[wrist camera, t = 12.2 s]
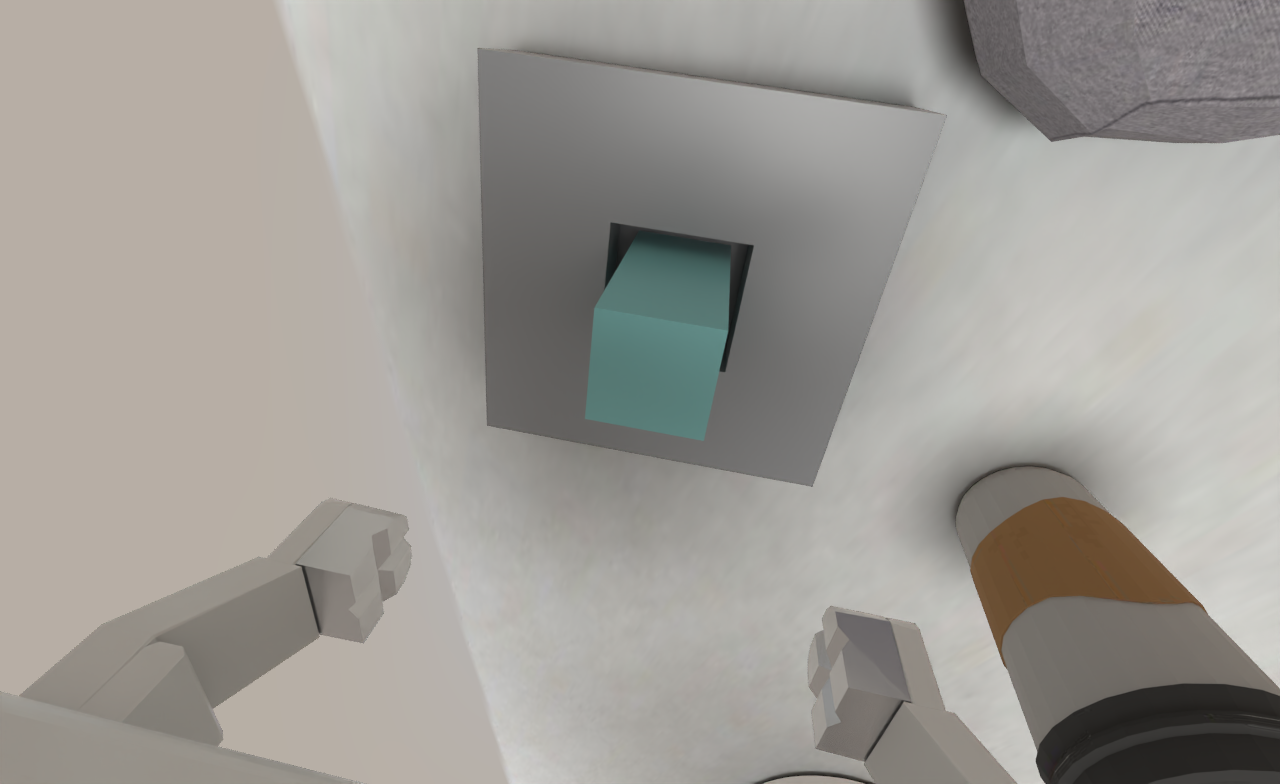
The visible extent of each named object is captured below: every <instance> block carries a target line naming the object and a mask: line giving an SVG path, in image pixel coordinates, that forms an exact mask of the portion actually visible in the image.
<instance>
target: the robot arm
mask: <svg viewBox="0 0 1280 784" xmlns="http://www.w3.org/2000/svg"><path fill="white" fill-rule="evenodd" d="M408 530H409V527H408V521H407V517H406V516H404V515H401V514H396V513H393V512H389V511H385V510H380V509H376V508H372V507H368V506H364V505H360V504H356V503H350V502H346V501H342V500H337V499H333V498H329V499H327V500H325V501H323V502H321V503H320V504H319V505H318V506H317V507H316V508H315V509H314V510H313V511H312V512H311V513H310V514H309V515H308V516H307V517H306V519H304V520H303V521H302V522H301V524H300V525H299V526H298V527H297V528H296V529H295V530H294V531H293V532H292V533H291V534H290V535H289V536H288V537H287V538H286V539H285V540H284V541H283V542H282V543H281V544H280V545H279V546H278V547H277V548H276V549H275V550H274V551H273V552H272V553H271V554H270V555H269V556H268V557H267V558H261V557H257V558H255V559H253V560H250V561H248V562H246V563H243V564H241V565H239V566H236V567H234V568H232V569H230V570H227V571H225V572H222V573H220V574H218V575H216V576H213V577H211V578H209V579H206V580H204V581H202V582H199V583H197V584H195V585H192V586H190V587H188V588H185V589H183V590H181V591H179V592H176V593H174V594H171V595H169V596H167V597H164V598H162V599H160V600H158V601H155V602H153V603H150V604H148V605H146V606H143V607H141V608H139V609H137V610H134V611H132V612H130V613H127V614H125V615H123V616H120V617H118V618H116V619H113V620H111V621H109V622H106V623H104V624H102V625H101V626H99V627H98V628H97V629H96V630H95V631H94V632H93V633H91V634H90V635H89V636H88V637H87V638H86V639H84V640H83V641H82V642H81V643H80V644H79V645H77V646H76V647H75V648H74V649H73V650H72V651H70V652H69V653H68V654H67V655H66V656H65V657H63V658H62V659H61V660H60V661H59V662H58V663H57V664H55V665H54V666H53V667H52V668H51V669H50V670H48V671H47V672H46V673H45V674H44V675H43V676H42V677H40V678H39V679H38V680H37V681H36V682H34V683H33V684H32V685H31V686H30V687H29V688H27V689H26V690H25V691H24V692H23V693H22V694H21V695H19V696H16V695H12V694H8V693H4V692H0V784H365V783H361V782H357V781H353V780H349V779H345V778H341V777H337V776H333V775H329V774H325V773H321V772H317V771H313V770H309V769H306V768H302V767H298V766H294V765H290V764H285V763H282V762H278V761H274V760H270V759H266V758H262V757H258V756H254V755H250V754H246V753H242V752H238V751H234V750H230V749H226V748H222V747H218V745H219V744H220V743H221V741H222V740H223V730H222V728H221V726H220V724H219V722H218V720H217V718H216V716H215V714H214V711H213V708H215V707H216V706H218V705H219V704H221V703H222V702H224V701H225V700H227V699H228V698H229V697H231V696H233V695H234V694H236V693H237V692H238V691H240V690H241V689H243V688H244V687H246V686H247V685H249V684H250V683H252V682H253V681H255V680H256V679H258V678H259V677H261V676H262V675H264V674H265V673H267V672H268V671H270V670H271V669H273V668H274V667H276V666H277V665H279V664H280V663H282V662H283V661H285V660H286V659H288V658H289V657H291V656H292V655H294V654H295V653H297V652H298V651H300V650H301V649H303V648H304V647H306V646H307V645H309V644H310V643H312V642H313V641H314V640H316V639H317V638H319V637H320V636H319V634H320V635H325V636H330V637H335V638H340V639H345V640H350V641H355V642H360V643H364V642H365V641H366V639H367V638H368V636H369V635H370V633H371V632H372V630H373V629H374V627H375V626H376V624H377V623H378V621H379V620H380V618H381V617H382V615H383V614H384V611H383V601H385V600H387V599H388V598H390V597H392V596H394V595H396V594H397V593H398V591H399V589H400V588H401V586H402V584H403V583H404V582H405V579H406V576H407V574H408V571H409V568H410V565H411V557H412V553H411V546H410V544H409V543H408V542H407V541H406V540H405V539H404V535H405V534H406V533H407V531H408ZM822 623H823V630H822V631H820V632H818V633H816V634H815V635H814V638H813V640H812V643H811V646H810V650H809V656H808V683H809V688H810V689H811V691H812V692H813V693H814V695H815V696H816V698H817V700H816V702H815V704H814V706H813V708H812V711H811V713H812V721H813V730H814V739H815V748H816V749H819V750H823V751H826V752H830V753H834V754H838V755H842V756H845V757H849V758H853V759H857V760H861V761H864V762H865V763H864V765H865V766H866V768H867V770H868V772H869V773H870V775H871V777H872V778H873V780H874V782H875V783H876V784H1017V783H1016V782H1015V781H1014V779H1013V778H1012V777H1011V776H1010V775H1009V774H1008V773H1007V772H1006V770H1005V769H1004V768H1003V767H1002V766H1001V765H1000V764H999V763H998V761H997V760H996V759H995V758H994V757H993V756H992V755H991V754H990V752H989V751H988V750H987V749H986V748H985V747H984V746H983V745H982V743H981V742H980V741H979V740H978V739H977V738H976V737H975V736H974V734H973V733H972V732H971V731H970V730H969V729H968V728H967V727H966V725H965V724H964V723H963V722H962V721H961V720H960V719H959V718H958V716H957V715H956V714H955V713H952V712H948V711H946V710H945V707H944V704H943V701H942V698H941V695H940V692H939V688H938V685H937V682H936V679H935V676H934V673H933V670H932V667H931V664H930V660H929V657H928V654H927V651H926V648H925V645H924V642H923V639H922V636H921V633H920V629H919V628H918V627H917V625H916V624H915V623H911V622H906V621H901V620H896V619H892V618H884V617H883V616H878V615H873V614H869V613H864V612H859V611H854V610H849V609H844V608H839V607H834V606H830V607H829V608H827V609H826V611H825V613H824V615H823V617H822ZM763 784H864V783H861V782H857V781H853V780H848V779H843V778H837V777H828V776H794V777H786V778H781V779H776V780H772V781H769V782H766V783H763Z"/></svg>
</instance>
